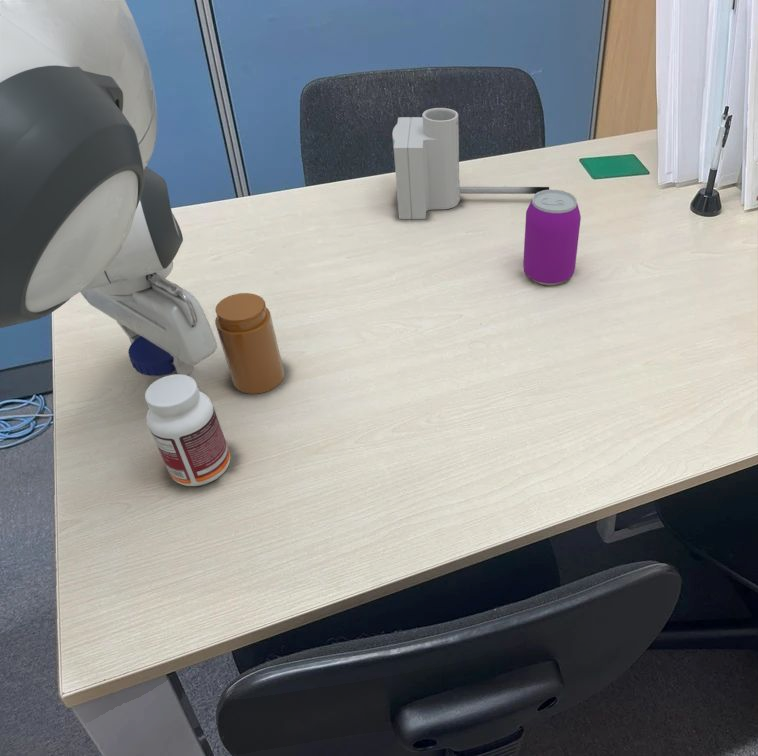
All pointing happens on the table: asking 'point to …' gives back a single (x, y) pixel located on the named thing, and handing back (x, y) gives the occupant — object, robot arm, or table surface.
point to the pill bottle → (186, 430)
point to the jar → (249, 343)
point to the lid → (149, 358)
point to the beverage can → (551, 237)
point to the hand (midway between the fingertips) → (163, 358)
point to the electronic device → (433, 165)
